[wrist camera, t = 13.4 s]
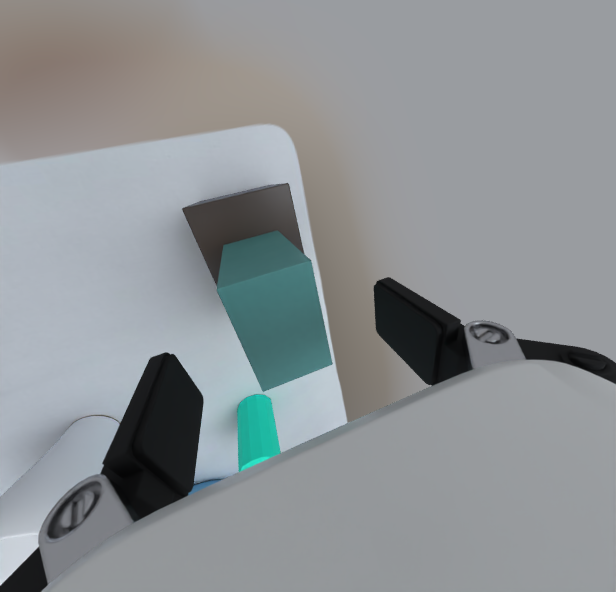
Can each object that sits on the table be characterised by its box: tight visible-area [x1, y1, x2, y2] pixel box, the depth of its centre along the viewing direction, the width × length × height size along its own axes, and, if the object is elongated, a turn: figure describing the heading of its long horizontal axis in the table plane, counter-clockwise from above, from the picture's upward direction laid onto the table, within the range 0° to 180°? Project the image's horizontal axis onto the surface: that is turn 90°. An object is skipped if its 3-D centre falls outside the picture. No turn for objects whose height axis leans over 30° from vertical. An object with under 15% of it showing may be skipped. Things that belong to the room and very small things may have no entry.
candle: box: [237, 394, 281, 472], centre depth 34 cm, size 6×6×12 cm
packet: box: [217, 230, 332, 392], centre depth 16 cm, size 7×4×9 cm, turn 12°
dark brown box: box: [182, 183, 304, 286], centre depth 24 cm, size 13×8×10 cm, turn 12°
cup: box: [0, 416, 120, 585], centre depth 26 cm, size 10×10×14 cm
